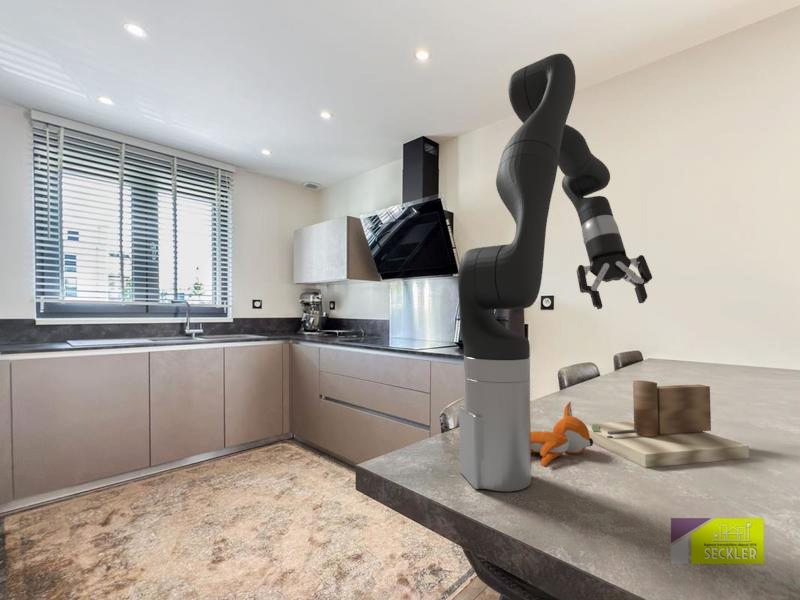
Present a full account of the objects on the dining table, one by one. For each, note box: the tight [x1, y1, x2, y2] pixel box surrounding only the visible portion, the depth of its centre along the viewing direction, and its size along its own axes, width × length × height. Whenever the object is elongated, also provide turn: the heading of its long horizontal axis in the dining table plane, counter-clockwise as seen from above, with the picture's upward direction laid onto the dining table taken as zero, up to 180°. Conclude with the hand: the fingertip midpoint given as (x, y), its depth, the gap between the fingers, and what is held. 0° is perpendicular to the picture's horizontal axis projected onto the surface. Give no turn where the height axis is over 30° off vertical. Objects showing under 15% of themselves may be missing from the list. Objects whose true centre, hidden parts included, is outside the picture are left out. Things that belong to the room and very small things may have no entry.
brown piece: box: [608, 380, 712, 437], centre depth 69 cm, size 21×4×9 cm, turn 102°
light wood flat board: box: [584, 420, 750, 468], centre depth 68 cm, size 20×16×2 cm
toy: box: [531, 400, 594, 467], centre depth 68 cm, size 8×22×15 cm
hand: (621, 305), depth 84 cm, fingers open, 8 cm apart
